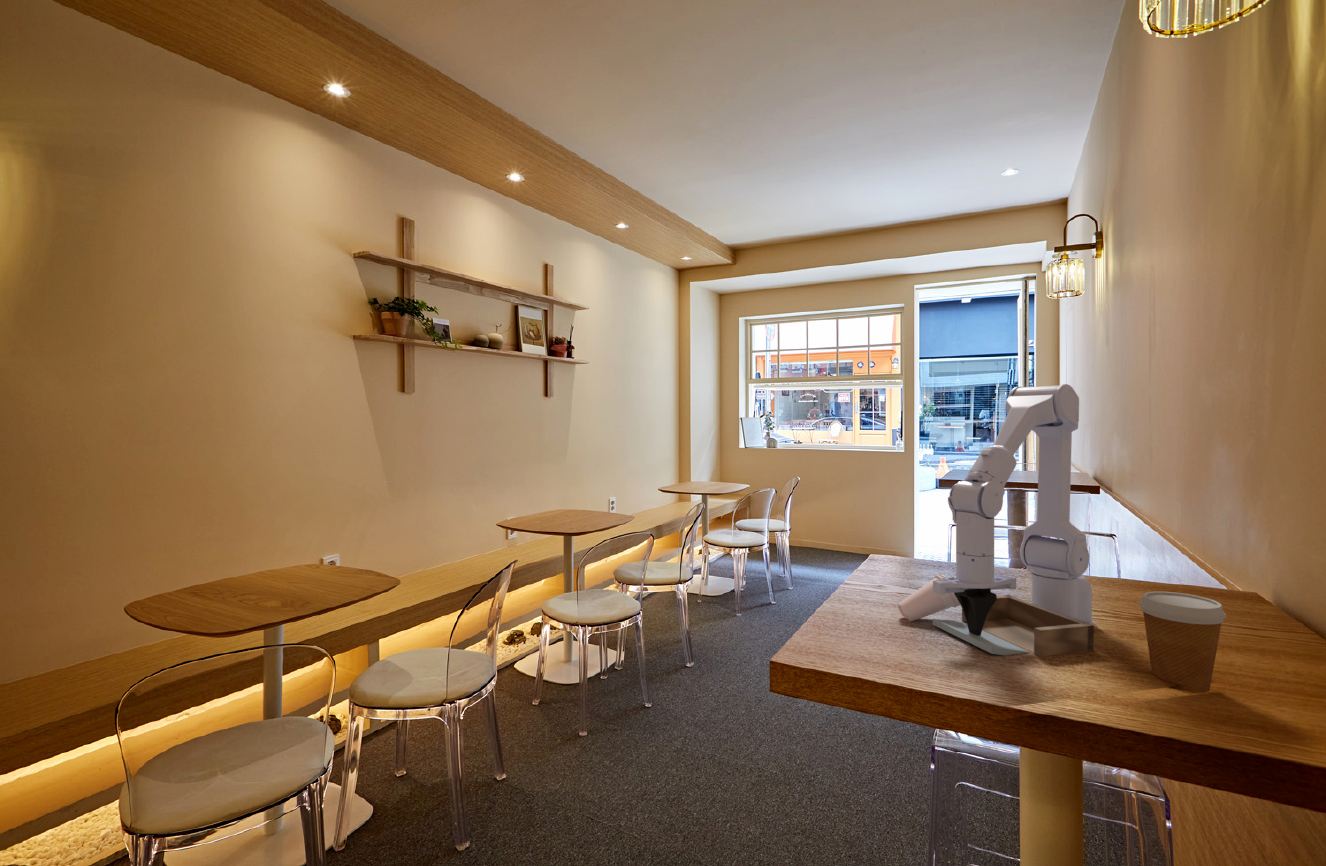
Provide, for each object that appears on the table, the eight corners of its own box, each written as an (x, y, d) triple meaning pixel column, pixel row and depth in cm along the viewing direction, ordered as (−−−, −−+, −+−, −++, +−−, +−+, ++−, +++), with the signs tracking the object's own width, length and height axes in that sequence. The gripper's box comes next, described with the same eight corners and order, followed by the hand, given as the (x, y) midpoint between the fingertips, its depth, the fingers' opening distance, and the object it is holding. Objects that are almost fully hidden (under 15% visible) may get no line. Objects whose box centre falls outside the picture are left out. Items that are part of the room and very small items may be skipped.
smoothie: (918, 631, 111) (987, 595, 112) (899, 597, 112) (967, 562, 113) (906, 627, 117) (972, 593, 118) (889, 595, 119) (953, 562, 119)
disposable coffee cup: (1121, 671, 93) (1122, 591, 93) (1181, 669, 94) (1181, 589, 93) (1180, 700, 83) (1180, 610, 83) (1245, 696, 84) (1246, 608, 84)
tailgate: (966, 623, 112) (933, 618, 111) (1029, 652, 98) (992, 647, 97) (966, 629, 112) (932, 624, 111) (1028, 658, 98) (991, 653, 97)
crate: (1008, 621, 116) (1009, 595, 116) (1093, 656, 99) (1093, 625, 99) (962, 625, 114) (962, 598, 114) (1040, 662, 97) (1040, 630, 97)
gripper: (994, 546, 110) (994, 622, 110) (921, 550, 107) (921, 629, 107) (1026, 554, 103) (1025, 636, 103) (948, 559, 100) (948, 643, 100)
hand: (974, 633), depth 104 cm, fingers closed, pressing on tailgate
